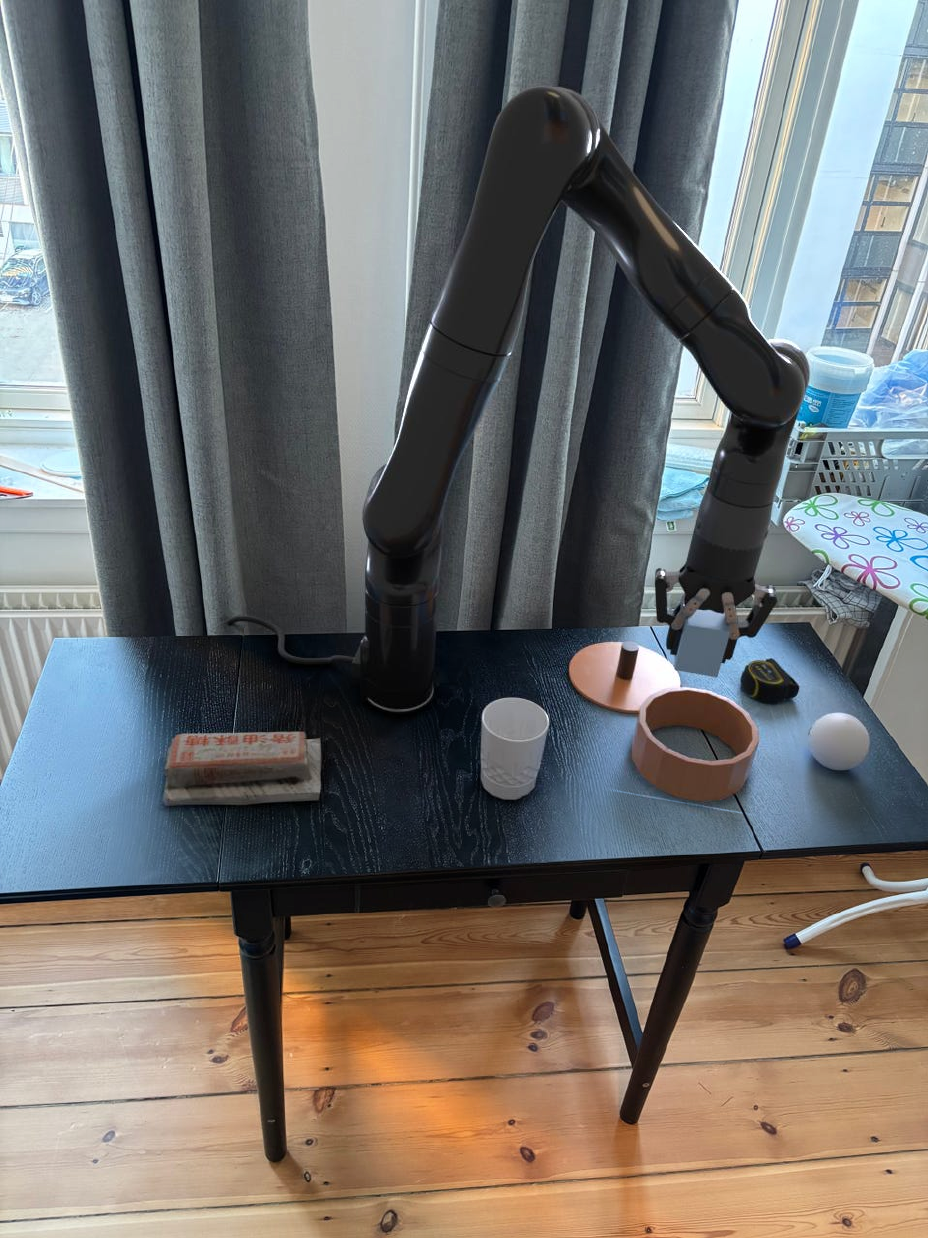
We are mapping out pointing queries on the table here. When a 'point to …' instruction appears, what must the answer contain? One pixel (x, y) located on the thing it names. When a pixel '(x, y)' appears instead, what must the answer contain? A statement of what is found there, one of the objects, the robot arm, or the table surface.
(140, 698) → the table surface
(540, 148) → the robot arm
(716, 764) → the orange round container
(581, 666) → the lid
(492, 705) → the white cup
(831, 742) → the white oval ball
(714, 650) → the block
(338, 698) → the table surface
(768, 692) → the tape measure
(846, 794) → the table surface
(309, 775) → the packaged product
